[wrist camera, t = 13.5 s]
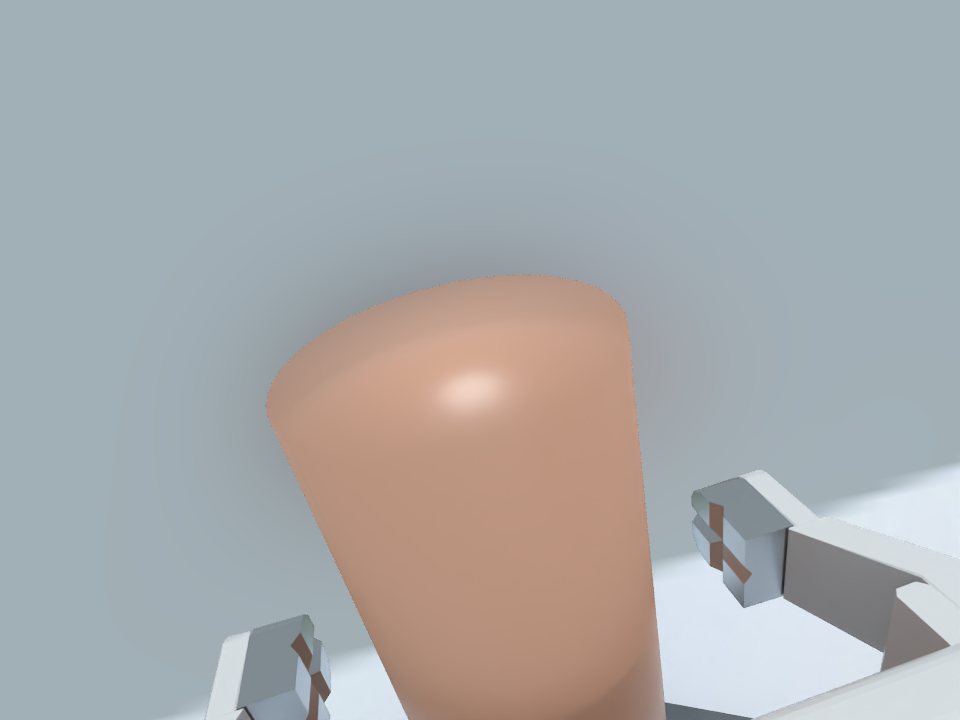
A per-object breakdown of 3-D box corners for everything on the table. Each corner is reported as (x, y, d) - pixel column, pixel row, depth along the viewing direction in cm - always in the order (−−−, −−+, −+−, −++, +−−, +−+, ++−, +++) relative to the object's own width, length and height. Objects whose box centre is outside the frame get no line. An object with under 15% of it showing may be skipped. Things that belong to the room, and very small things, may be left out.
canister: (647, 779, 18) (577, 253, 10) (718, 1006, 14) (694, 393, 6) (497, 809, 18) (306, 315, 10) (520, 1045, 14) (210, 503, 6)
